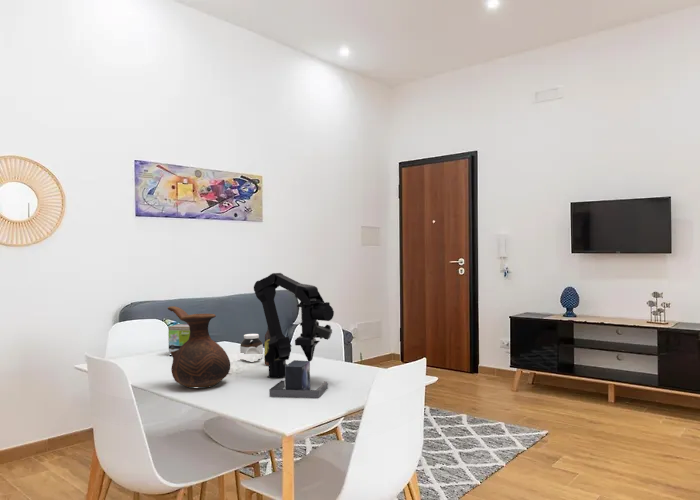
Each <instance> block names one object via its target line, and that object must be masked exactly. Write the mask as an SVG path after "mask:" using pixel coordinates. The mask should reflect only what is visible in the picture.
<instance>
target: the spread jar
mask: <svg viewBox="0 0 700 500" xmlns="http://www.w3.org/2000/svg"><path fill="white" fill-rule="evenodd" d="M243 338H244V339H243V340H242V341H241V343H240V344H239V346H240V347H239V352H240V353H244V354H263V355H264V346H263V345H264V344H263V341H262V340H261V339H260V335H259V333H246V334H243ZM240 353H239V354H240Z"/></svg>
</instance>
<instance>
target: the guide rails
mask: <svg viewBox="0 0 700 500" xmlns="http://www.w3.org/2000/svg"><path fill="white" fill-rule="evenodd" d="M328 382H329V381H327V380H326V381H323V382H322V383H321V384H319V386H318V387H317V388H316V389H310V390H304V389H285V380H283V379H282V380H280V381H279V382H277V383H276V384H274V385H273V386H272V387H271V388H269V392H268V395H269V398H293V399H294V398H295V399H296V398H299V399H302V398H304V399H320V398H321V396H322V395H323V394H325V392H326V391H327V390H328V389H329V388H328Z"/></svg>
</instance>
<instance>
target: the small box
mask: <svg viewBox="0 0 700 500" xmlns="http://www.w3.org/2000/svg"><path fill="white" fill-rule="evenodd" d="M284 381H285V388H284V389H304V390H311V361H308V360H299V359H298V360H295V359H294V360H292V361H291V362H289V363H288V364H287V365H286V366H285V377H284Z"/></svg>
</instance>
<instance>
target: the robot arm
mask: <svg viewBox="0 0 700 500" xmlns="http://www.w3.org/2000/svg"><path fill="white" fill-rule="evenodd" d="M279 287H281V288H283V289H284V290H286V291H289V292H290V293H292V294H293V295H294V296H295V297H294V298H296V299H297V300H299V302H298V304H297V305H296V307H297V308H300V311H301V314H300V315H301V322H300V323H299V325H300V327H301V333H300V336H298V337H296V338H295V340H294V346H300V347H301V348H300V349H301V350H302V351H303V353H304V356H305V357H306V361H310V362H311V361H313V360H314V359H313V357H314V354H315V349H316V346H317V344H319V343H320V340H317V338H319V339H322V340H323V339H324V340H329V339H330V338H331V335H332V334H333V329H332V328H331V327H332V326H331V325H330V324H326V325H325V326H323V325H320V322H319V321H324V322H329V321H332V319H333V318H334V314H335V311H334V308H333V307H332V306H331V303H330V302H328V301H327V302H325V301H324V298H323V297H322V296H321V294H320V291H319V290H318V289H319V288H318V287H317V286H315V285H312V284H305V283H301V282H298V281H296V280H294V279H293V278H290V277H289V276H287V275H284V274H283V273H282V272H273V273H270V274H269V275H267V276H266V277H263V278H261V279H259V280H257V281H255V283H254V285H253V291H254V294H255V297H256V299H258V300H259V302H261V304H262V308H263V313H264V316H265V322H266V325H267V328H268V329H269V333H270V341H269V344H268V346H269V351H268V352H267V354H266V355H265V356H264V357H263V359H264V358H265V361H264V363H265V362H269V365H268V375H267V378H270V379H271V378H273V379H275V378H276V379H283V378H285V366H286V365H288V364H287V363H286V362H287V360H288V361H289V360H290V356H291V352H292V344H291V340H290V337H289V336H285V334H284V333H283V330H282V327H281V322H280V319H279V315H278V310H277V307H276V303H275V297H276V294H277V292H276V291H277V289H278V288H279ZM268 329H267V330H268Z"/></svg>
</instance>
